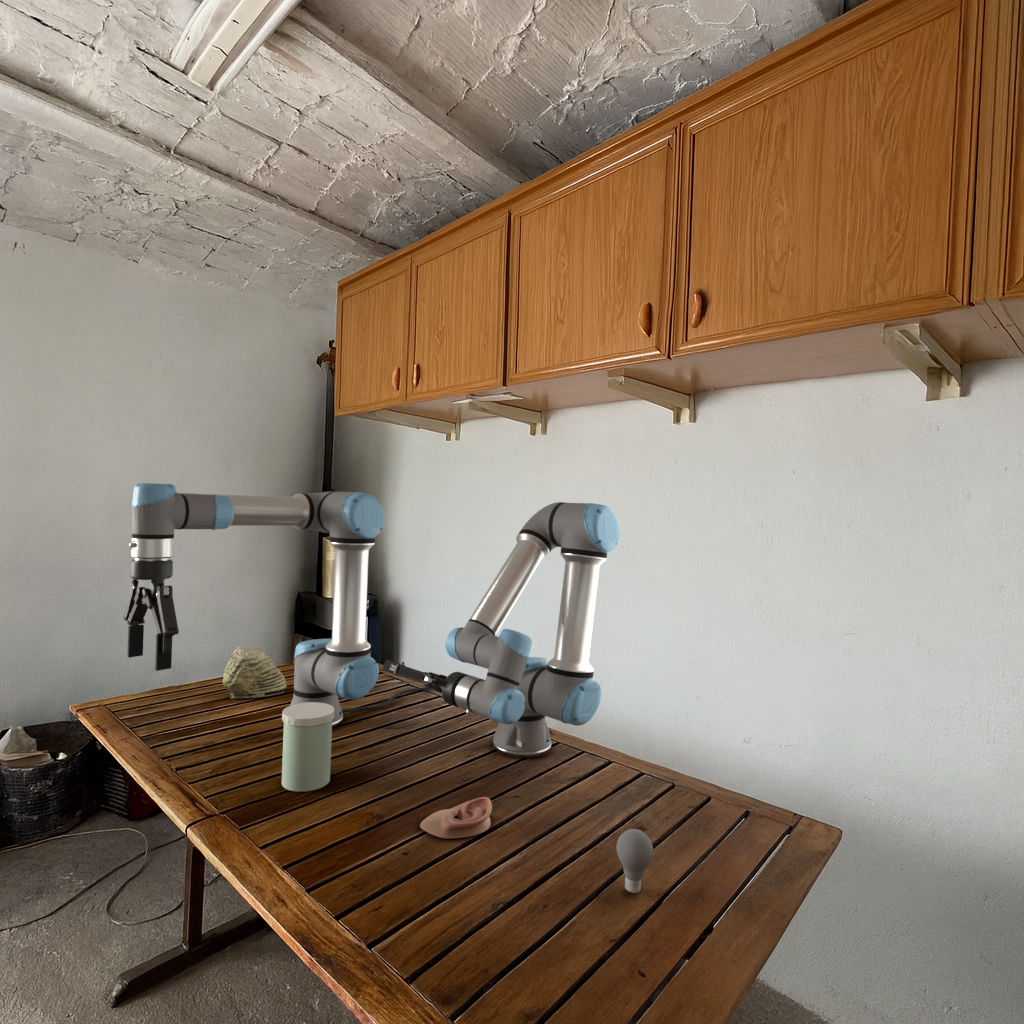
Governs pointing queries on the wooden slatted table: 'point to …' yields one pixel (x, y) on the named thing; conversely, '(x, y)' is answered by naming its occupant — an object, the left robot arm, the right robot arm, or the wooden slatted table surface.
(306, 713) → the lid
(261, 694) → the fossil
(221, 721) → the wooden slatted table surface
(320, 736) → the jar
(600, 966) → the wooden slatted table surface
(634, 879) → the light bulb
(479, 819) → the anatomical model
